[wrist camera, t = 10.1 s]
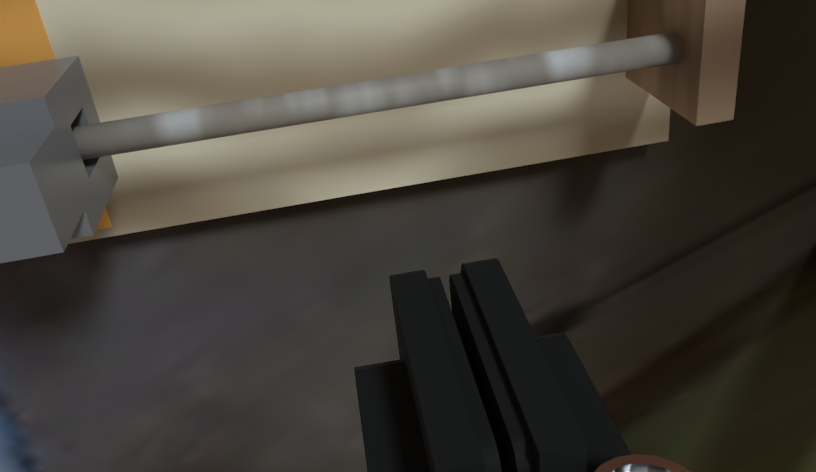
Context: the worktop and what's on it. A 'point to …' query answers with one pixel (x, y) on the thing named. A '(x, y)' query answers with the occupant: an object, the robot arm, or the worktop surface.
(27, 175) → the sleeve
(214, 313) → the worktop surface
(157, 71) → the rail
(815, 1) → the worktop surface
